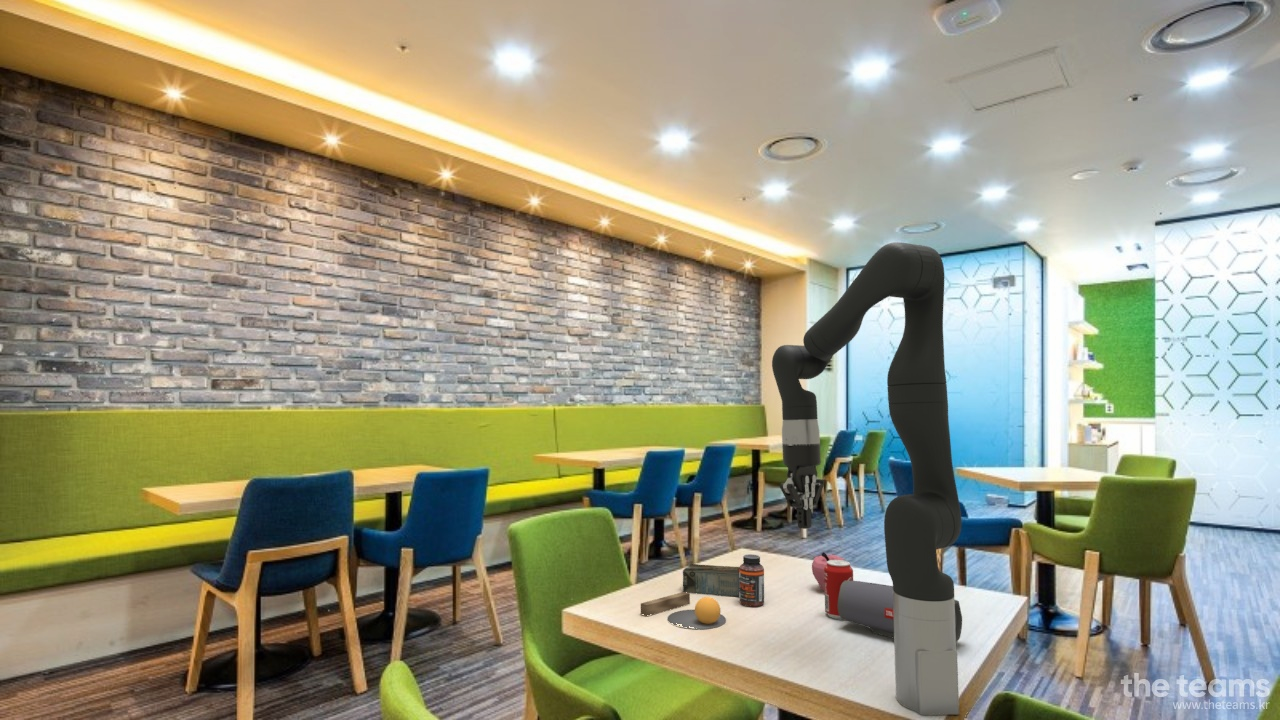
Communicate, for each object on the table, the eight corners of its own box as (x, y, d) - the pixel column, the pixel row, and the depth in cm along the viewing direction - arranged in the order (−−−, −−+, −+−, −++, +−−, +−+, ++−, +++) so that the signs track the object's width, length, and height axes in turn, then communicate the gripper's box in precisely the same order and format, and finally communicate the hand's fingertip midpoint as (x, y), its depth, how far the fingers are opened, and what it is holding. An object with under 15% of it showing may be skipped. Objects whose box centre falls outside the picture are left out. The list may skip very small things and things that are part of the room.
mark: (730, 629, 141) (730, 628, 141) (669, 629, 140) (669, 628, 140) (721, 610, 154) (721, 609, 154) (665, 610, 153) (665, 609, 153)
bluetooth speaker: (836, 630, 140) (835, 582, 141) (854, 619, 147) (853, 573, 148) (950, 657, 125) (948, 603, 126) (963, 643, 132) (962, 592, 133)
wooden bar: (683, 602, 160) (683, 591, 160) (689, 604, 158) (689, 593, 159) (640, 614, 151) (640, 603, 151) (646, 616, 149) (646, 605, 149)
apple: (847, 597, 163) (846, 556, 164) (811, 594, 166) (810, 554, 167) (847, 587, 172) (846, 548, 173) (813, 584, 175) (812, 546, 176)
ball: (698, 624, 147) (717, 632, 143) (685, 611, 144) (704, 619, 140) (710, 601, 149) (729, 609, 145) (698, 589, 147) (717, 596, 142)
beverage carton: (689, 585, 176) (689, 560, 176) (761, 591, 170) (761, 565, 170) (682, 593, 168) (682, 567, 169) (757, 600, 162) (757, 573, 163)
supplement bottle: (735, 605, 157) (735, 557, 158) (744, 598, 163) (743, 552, 163) (760, 608, 155) (759, 559, 155) (767, 602, 160) (766, 554, 161)
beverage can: (855, 621, 145) (854, 566, 146) (826, 619, 147) (825, 565, 147) (852, 612, 152) (851, 559, 152) (824, 611, 153) (823, 558, 154)
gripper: (803, 440, 142) (807, 522, 141) (766, 443, 133) (769, 530, 132) (834, 441, 137) (838, 526, 135) (797, 443, 128) (801, 534, 126)
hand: (804, 527), depth 133 cm, fingers closed
